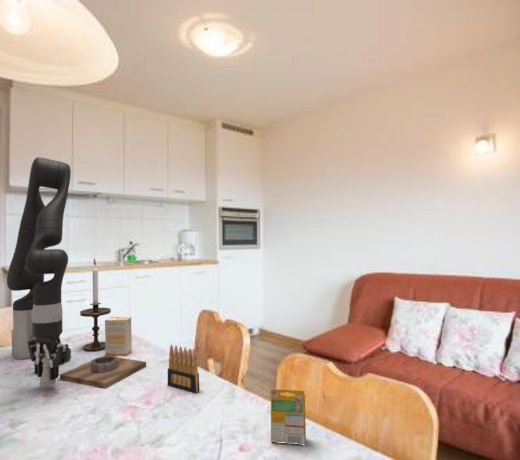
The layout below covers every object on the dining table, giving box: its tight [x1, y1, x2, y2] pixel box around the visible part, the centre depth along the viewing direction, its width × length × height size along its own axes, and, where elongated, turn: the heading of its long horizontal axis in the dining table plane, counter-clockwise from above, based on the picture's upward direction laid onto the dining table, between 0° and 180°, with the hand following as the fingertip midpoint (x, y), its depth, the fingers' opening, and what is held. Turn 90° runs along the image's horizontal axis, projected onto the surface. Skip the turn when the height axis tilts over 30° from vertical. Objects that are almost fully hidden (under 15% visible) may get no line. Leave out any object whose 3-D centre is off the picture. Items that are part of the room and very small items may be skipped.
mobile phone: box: [34, 347, 72, 375], centre depth 124 cm, size 5×3×15 cm
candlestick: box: [79, 258, 112, 353], centre depth 142 cm, size 11×11×35 cm
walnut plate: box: [59, 354, 147, 389], centre depth 117 cm, size 18×18×2 cm
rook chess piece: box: [38, 355, 58, 388], centre depth 106 cm, size 4×4×8 cm
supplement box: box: [104, 316, 133, 356], centre depth 135 cm, size 8×5×13 cm, turn 84°
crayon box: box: [270, 388, 307, 445], centre depth 79 cm, size 7×3×12 cm, turn 81°
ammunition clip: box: [166, 344, 200, 394], centre depth 105 cm, size 11×2×12 cm, turn 60°
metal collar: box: [91, 355, 120, 373], centre depth 117 cm, size 8×8×2 cm
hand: (47, 377), depth 106 cm, fingers closed on rook chess piece, 4 cm apart
